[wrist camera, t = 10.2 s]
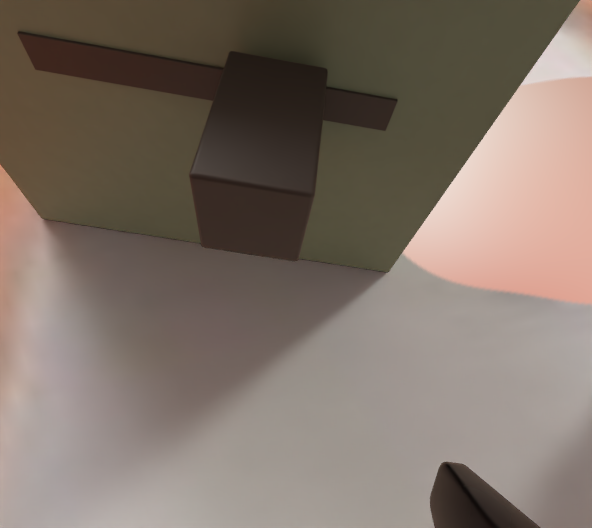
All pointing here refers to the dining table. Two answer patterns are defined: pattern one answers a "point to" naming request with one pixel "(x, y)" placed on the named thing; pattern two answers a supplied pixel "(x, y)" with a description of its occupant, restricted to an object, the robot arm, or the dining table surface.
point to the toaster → (203, 85)
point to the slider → (259, 157)
